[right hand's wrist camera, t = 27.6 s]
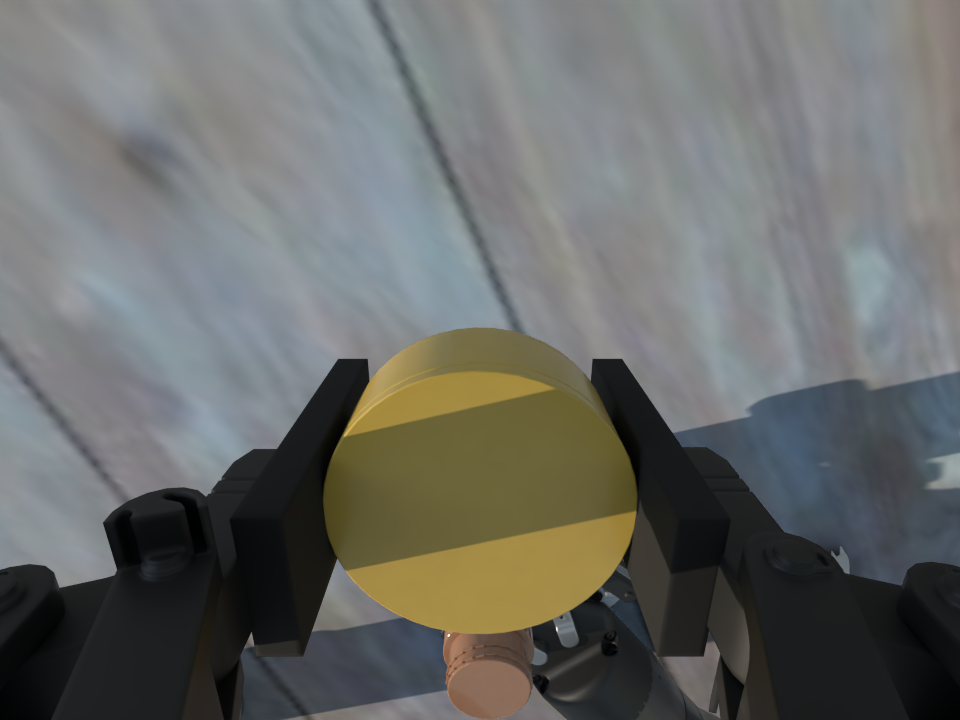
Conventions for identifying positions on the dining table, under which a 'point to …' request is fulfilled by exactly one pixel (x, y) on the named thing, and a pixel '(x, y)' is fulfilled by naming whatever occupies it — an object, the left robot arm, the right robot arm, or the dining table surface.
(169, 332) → the dining table surface
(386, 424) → the lid
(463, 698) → the jar
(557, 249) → the dining table surface
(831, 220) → the dining table surface
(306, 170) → the dining table surface
